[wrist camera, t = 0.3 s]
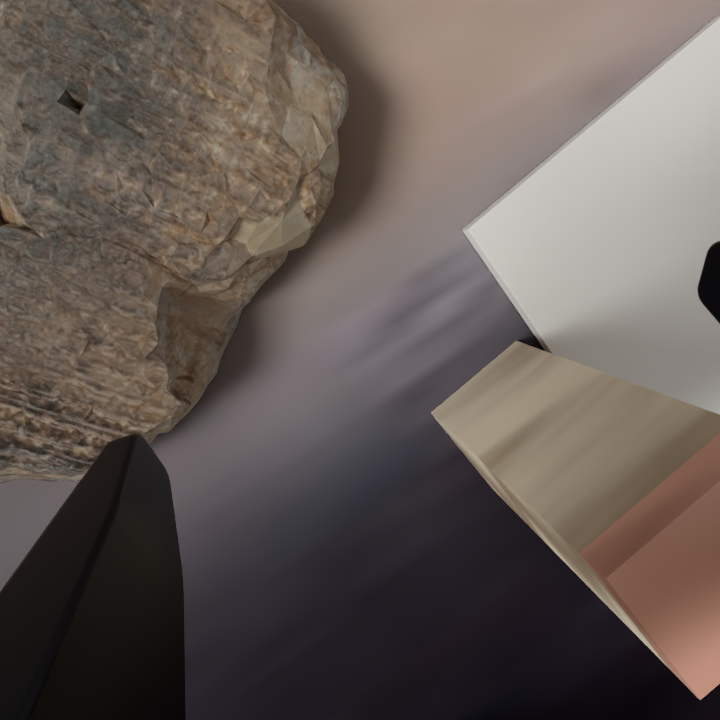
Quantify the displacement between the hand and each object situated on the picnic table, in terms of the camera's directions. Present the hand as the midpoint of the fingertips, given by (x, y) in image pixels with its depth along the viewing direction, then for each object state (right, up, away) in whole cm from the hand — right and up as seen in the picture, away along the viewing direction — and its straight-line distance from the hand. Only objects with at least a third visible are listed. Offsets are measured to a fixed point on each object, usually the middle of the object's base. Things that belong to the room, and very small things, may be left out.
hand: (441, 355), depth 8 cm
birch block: (+5, -3, +16) cm, 17 cm away
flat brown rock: (-11, +5, +12) cm, 17 cm away
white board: (+13, +4, +16) cm, 21 cm away
